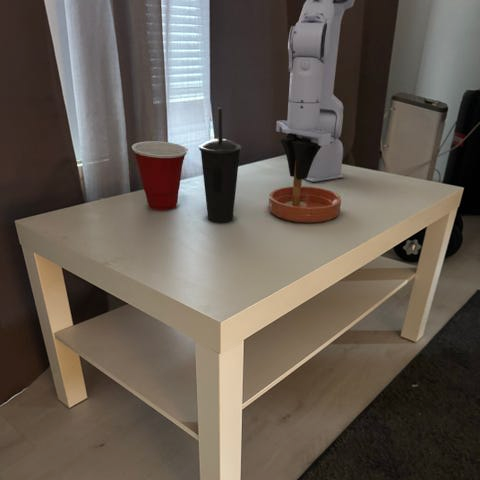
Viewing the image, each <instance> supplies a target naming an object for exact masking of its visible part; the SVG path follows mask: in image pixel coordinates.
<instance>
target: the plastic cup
mask: <svg viewBox="0 0 480 480" xmlns="http://www.w3.org/2000/svg"><path fill="white" fill-rule="evenodd" d="M131 150H132V151H133V153H134V156H135V160H136V164H137V166H138V171H139V176H140V179H141V184H142V187H143V191H144V194H145V198H146V202H147V204H148V207H149V208H150V209H152V210H155V211H169V210H173V209H175V208H176V207H177V205H178V202H179V201H178V199H179V191H180V187H181V180H182V179H181V178H182V171H183V165H184V161H185V157H186V155H187V154H188V150H189V149H188V148H187V147H186V146H184V145H181V144H179V143H173V142H168V141H159V140H157V141H156V140H155V141H154V140H153V141H152V140H151V141H150V140H149V141H140V142H136V143H134V144H132V145H131Z"/></svg>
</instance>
